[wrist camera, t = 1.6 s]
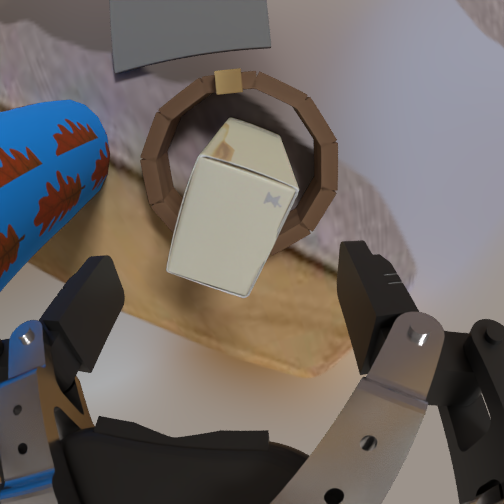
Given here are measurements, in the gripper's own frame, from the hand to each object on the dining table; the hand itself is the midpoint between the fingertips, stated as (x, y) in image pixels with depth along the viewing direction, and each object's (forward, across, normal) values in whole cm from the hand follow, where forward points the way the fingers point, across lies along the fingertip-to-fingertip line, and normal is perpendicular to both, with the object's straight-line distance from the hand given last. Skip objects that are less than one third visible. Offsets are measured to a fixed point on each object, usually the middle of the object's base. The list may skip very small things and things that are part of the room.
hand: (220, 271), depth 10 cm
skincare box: (+15, 0, 0) cm, 15 cm away
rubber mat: (+15, +3, -15) cm, 21 cm away
